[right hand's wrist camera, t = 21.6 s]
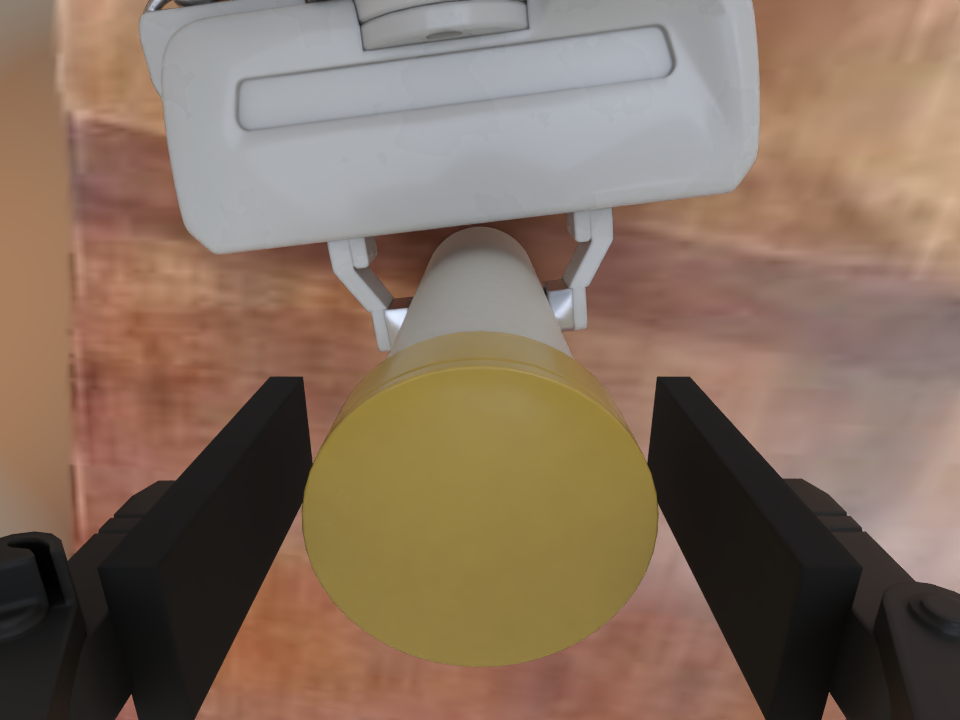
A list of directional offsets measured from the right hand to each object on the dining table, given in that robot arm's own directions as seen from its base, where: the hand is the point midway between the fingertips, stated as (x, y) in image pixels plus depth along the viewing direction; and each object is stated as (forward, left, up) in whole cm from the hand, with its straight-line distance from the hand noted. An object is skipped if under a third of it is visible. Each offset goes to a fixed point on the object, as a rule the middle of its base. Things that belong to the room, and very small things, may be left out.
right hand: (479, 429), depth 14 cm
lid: (0, 0, +4) cm, 4 cm away
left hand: (-1, 0, -10) cm, 10 cm away
